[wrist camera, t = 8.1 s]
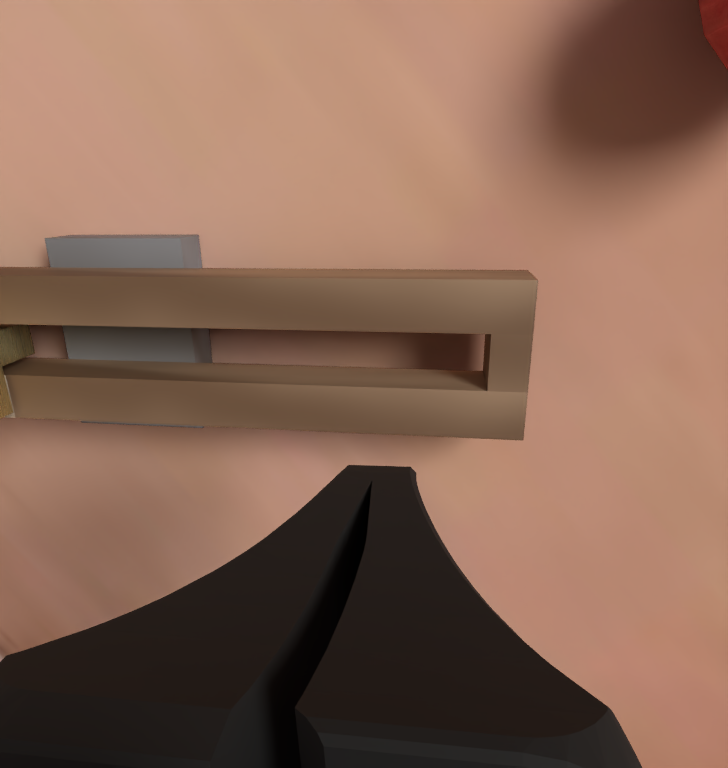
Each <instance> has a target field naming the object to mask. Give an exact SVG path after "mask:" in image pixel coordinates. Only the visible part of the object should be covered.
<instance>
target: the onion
mask: <svg viewBox="0 0 728 768" xmlns="http://www.w3.org/2000/svg"><path fill="white" fill-rule="evenodd" d="M698 1H699V7H700V13H701V19H702V26H703V32H704V36H705V37H706V39H707V40H708V42H709V43H710V45H711V46H712V48H713V49H714V51H715V52H716V54H717V55H718V57H719V58H720V60H721V61H722V63H723V64H724V65H725V67H726V68H727V70H728V0H698Z"/></svg>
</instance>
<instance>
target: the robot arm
mask: <svg viewBox="0 0 728 768" xmlns="http://www.w3.org/2000/svg"><path fill="white" fill-rule="evenodd" d="M0 768H642V766H641V764H640V762H639V760H638V758H637V756H636V754H635V752H634V750H633V748H632V746H631V744H630V743H629V741H628V739H627V737H626V735H625V733H624V731H623V729H622V728H621V726H620V724H619V722H618V720H617V719H616V717H615V715H614V713H613V712H612V710H611V709H610V708H609V707H607V706H606V705H605V704H603V703H602V702H601V701H599V700H598V699H597V698H595V697H594V696H592V695H591V694H590V693H588V692H587V691H586V690H584V689H583V688H582V687H580V686H579V685H578V684H576V683H575V682H574V681H572V680H571V679H569V678H568V677H567V676H565V675H564V674H563V673H561V672H560V671H559V670H557V669H556V668H555V667H553V666H552V665H551V664H549V663H548V662H547V661H546V660H545V659H543V658H542V657H541V656H540V655H539V654H538V653H537V652H535V651H534V650H533V649H532V648H531V647H530V646H529V645H527V644H526V643H525V642H524V641H523V640H522V639H521V638H520V637H519V636H518V635H517V634H516V633H515V632H514V631H513V630H512V629H511V628H510V627H509V626H508V625H507V624H506V623H505V622H504V621H503V620H502V619H501V618H500V617H499V616H498V615H497V614H496V613H495V612H494V611H493V610H492V608H491V607H490V606H489V605H488V604H487V603H486V602H485V600H484V599H483V598H482V597H481V596H480V594H479V593H478V592H477V591H476V590H475V588H474V587H473V586H472V585H471V583H470V582H469V581H468V579H467V578H466V577H465V575H464V574H463V573H462V571H461V570H460V568H459V567H458V566H457V564H456V563H455V561H454V560H453V558H452V557H451V555H450V553H449V552H448V550H447V548H446V547H445V545H444V544H443V542H442V540H441V539H440V537H439V535H438V533H437V531H436V529H435V528H434V525H433V523H432V521H431V519H430V517H429V515H428V513H427V511H426V509H425V506H424V504H423V501H422V499H421V496H420V493H419V490H418V486H417V482H416V472H415V471H414V470H413V469H412V468H411V467H396V466H363V465H348V466H347V467H346V468H345V469H344V470H343V471H341V472H340V473H339V474H338V475H337V476H336V477H335V478H334V479H333V480H332V481H331V482H330V483H329V484H328V485H327V486H326V487H324V488H323V489H322V490H321V491H320V492H319V493H318V494H317V495H316V496H315V497H314V498H313V499H312V500H310V501H309V502H308V503H307V504H306V505H305V506H304V507H303V508H302V509H300V510H299V511H298V512H297V513H296V514H295V515H293V516H292V517H291V518H290V519H288V520H287V521H286V522H285V523H283V524H282V525H281V526H280V527H278V528H277V529H276V530H275V531H273V532H272V533H271V534H270V535H268V536H267V537H266V538H264V539H263V540H261V541H260V542H259V543H257V544H256V545H254V546H253V547H251V548H250V549H249V550H247V551H246V552H244V553H242V554H241V555H239V556H238V557H236V558H235V559H233V560H231V561H230V562H228V563H227V564H225V565H223V566H222V567H220V568H218V569H217V570H215V571H213V572H211V573H209V574H207V575H205V576H204V577H202V578H200V579H198V580H196V581H194V582H192V583H190V584H188V585H186V586H185V587H183V588H181V589H179V590H177V591H175V592H173V593H171V594H169V595H167V596H165V597H163V598H161V599H159V600H157V601H154V602H152V603H150V604H148V605H145V606H143V607H141V608H139V609H136V610H134V611H132V612H129V613H127V614H124V615H122V616H119V617H117V618H115V619H112V620H110V621H107V622H105V623H102V624H99V625H97V626H94V627H92V628H89V629H86V630H83V631H80V632H77V633H74V634H71V635H69V636H66V637H63V638H60V639H57V640H54V641H51V642H48V643H45V644H42V645H39V646H36V647H33V648H30V649H27V650H24V651H21V652H17V653H14V654H11V655H7V656H6V657H5V658H4V659H3V660H2V661H1V662H0Z"/></svg>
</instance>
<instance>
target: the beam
mask: <svg viewBox="0 0 728 768" xmlns="http://www.w3.org/2000/svg"><path fill="white" fill-rule="evenodd" d="M45 242H46V247H47V252H48V257H49V262H50V267H0V324H25V325H62V328H63V333H64V338H65V343H66V348H67V353H68V358H69V359H53V358H22V359H19V360H17V361H14V362H12V363H9V364H7V365H4V366H2V368H3V372H4V376H5V381H6V385H7V389H8V393H9V397H10V401H11V405H12V409H13V413H11V414H9V415H7V416H5V417H7V418H32V419H55V420H77V421H81V422H82V423H104V424H127V425H149V426H171V427H193V428H203V427H204V426H212V427H234V428H256V429H279V430H301V431H324V432H346V433H368V434H391V435H413V436H436V437H458V438H480V439H503V440H523V438H524V427H525V417H526V406H527V395H528V384H529V374H530V363H531V352H532V341H533V330H534V320H535V309H536V298H537V287H538V279H537V278H535V277H534V276H533V275H532V274H531V273H530V272H529V271H528V270H400V269H233V268H202V262H201V252H200V243H199V235H68V236H60V237H52V238H45ZM209 328H219V329H267V330H316V331H364V332H412V333H461V334H485V346H484V362H483V371H465V370H431V369H397V368H362V367H328V366H294V365H259V364H225V363H212V354H211V344H210V335H209Z"/></svg>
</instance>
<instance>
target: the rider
mask: <svg viewBox="0 0 728 768" xmlns="http://www.w3.org/2000/svg"><path fill="white" fill-rule="evenodd" d="M34 353H35V352H34V347H33V342H32V338H31V333H30V329H29V325H25V324H0V419H1V418H3V417H5V416H7V415H9V414H11V413H13V409H12V405H11V401H10V397H9V393H8V389H7V385H6V381H5V376H4V372H3V368H2V366H4V365H7V364H9V363H12V362H14V361H17V360H19V359H22V358H24V357H27V356H29V355H32V354H34Z"/></svg>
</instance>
